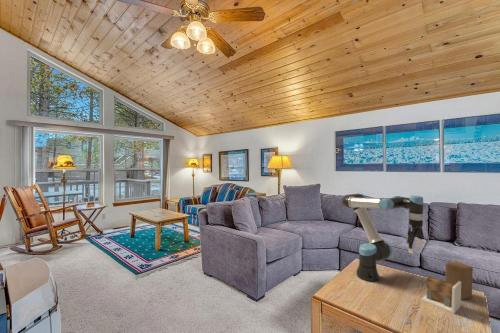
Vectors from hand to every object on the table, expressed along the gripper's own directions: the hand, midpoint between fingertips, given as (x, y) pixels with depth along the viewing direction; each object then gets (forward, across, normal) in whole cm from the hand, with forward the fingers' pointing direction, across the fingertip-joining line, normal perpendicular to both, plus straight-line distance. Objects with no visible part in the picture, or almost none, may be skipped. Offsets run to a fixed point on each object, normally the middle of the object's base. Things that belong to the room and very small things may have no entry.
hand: (415, 250), depth 161 cm
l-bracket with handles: (+27, -4, -15) cm, 31 cm away
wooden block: (+27, +16, -19) cm, 37 cm away
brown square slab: (+25, -4, -15) cm, 30 cm away
